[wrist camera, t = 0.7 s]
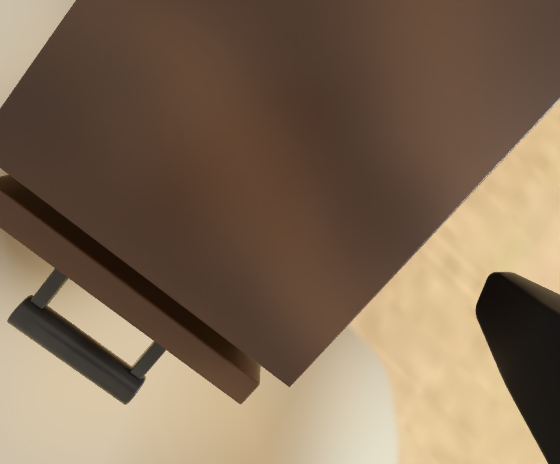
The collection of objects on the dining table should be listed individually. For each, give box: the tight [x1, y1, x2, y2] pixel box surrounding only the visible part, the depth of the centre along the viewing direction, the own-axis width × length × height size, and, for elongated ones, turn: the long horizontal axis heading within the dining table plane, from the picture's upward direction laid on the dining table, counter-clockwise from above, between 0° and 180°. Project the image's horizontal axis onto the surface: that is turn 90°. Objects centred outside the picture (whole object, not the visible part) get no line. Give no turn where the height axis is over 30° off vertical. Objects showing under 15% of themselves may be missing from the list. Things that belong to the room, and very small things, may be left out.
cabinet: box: [0, 0, 560, 387], centre depth 19 cm, size 17×14×6 cm
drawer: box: [0, 175, 261, 404], centre depth 20 cm, size 20×12×4 cm, turn 140°
